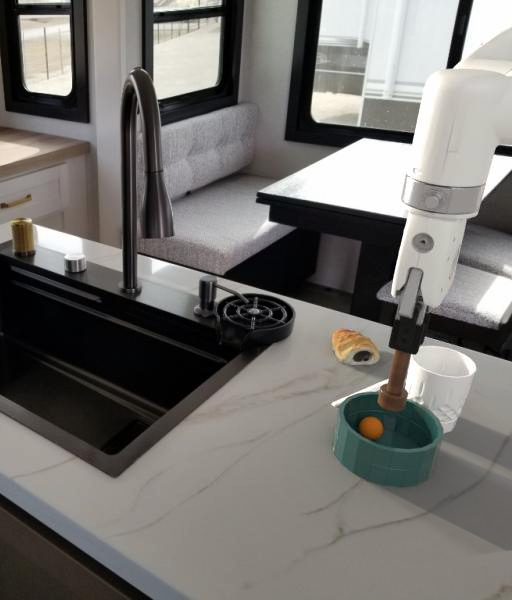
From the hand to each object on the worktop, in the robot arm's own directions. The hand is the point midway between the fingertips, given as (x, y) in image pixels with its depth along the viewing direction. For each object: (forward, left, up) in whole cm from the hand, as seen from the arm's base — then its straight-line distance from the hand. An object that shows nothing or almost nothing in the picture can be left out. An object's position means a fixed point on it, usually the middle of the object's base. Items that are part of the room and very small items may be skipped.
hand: (405, 344), depth 75 cm
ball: (0, -3, -16) cm, 17 cm away
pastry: (-9, -24, -17) cm, 31 cm away
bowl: (0, 0, -17) cm, 17 cm away
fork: (-8, -14, -17) cm, 24 cm away
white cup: (-10, -6, -17) cm, 21 cm away
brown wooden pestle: (0, 0, -9) cm, 9 cm away
